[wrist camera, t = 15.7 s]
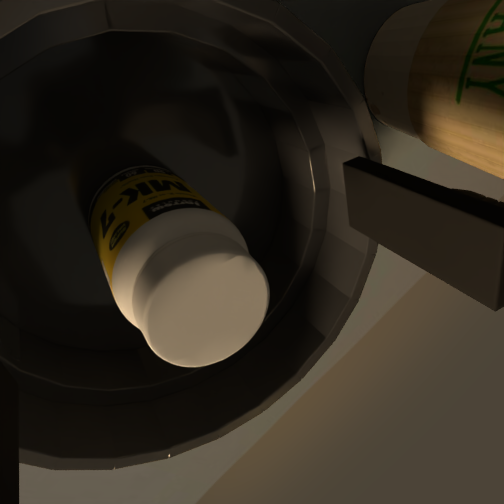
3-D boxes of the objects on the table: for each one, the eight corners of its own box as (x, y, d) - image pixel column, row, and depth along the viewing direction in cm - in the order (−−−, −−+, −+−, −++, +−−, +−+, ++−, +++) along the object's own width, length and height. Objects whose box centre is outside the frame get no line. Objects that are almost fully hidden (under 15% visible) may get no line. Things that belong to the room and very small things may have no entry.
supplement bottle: (165, 143, 18) (255, 205, 12) (208, 230, 21) (301, 320, 14) (62, 198, 17) (94, 300, 11) (120, 281, 20) (176, 405, 13)
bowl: (262, -56, 17) (368, -95, 12) (317, 276, 27) (392, 335, 21) (-242, 66, 13) (-418, 87, 7) (39, 421, 22) (47, 542, 17)
